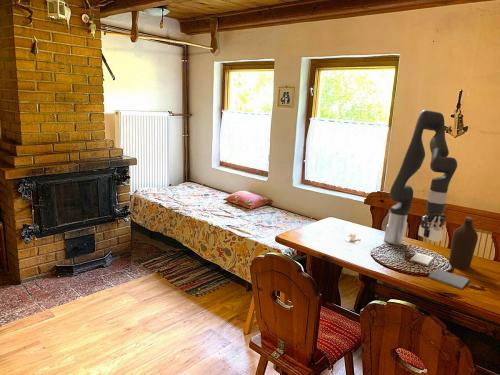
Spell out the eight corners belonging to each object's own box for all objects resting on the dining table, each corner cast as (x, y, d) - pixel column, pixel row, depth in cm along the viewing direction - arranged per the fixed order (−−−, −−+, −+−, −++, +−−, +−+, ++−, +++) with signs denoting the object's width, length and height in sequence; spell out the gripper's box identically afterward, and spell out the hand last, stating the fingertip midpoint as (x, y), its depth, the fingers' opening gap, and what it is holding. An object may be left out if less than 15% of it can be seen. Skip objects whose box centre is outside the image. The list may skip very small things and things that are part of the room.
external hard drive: (409, 262, 187) (416, 255, 196) (427, 267, 182) (433, 260, 191) (410, 259, 186) (417, 252, 196) (427, 264, 181) (434, 257, 191)
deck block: (418, 234, 174) (419, 224, 173) (424, 234, 176) (426, 223, 175) (434, 241, 166) (437, 230, 165) (441, 240, 168) (443, 230, 167)
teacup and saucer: (359, 239, 213) (360, 232, 212) (362, 244, 205) (363, 237, 204) (343, 237, 213) (344, 231, 212) (346, 242, 206) (347, 236, 205)
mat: (428, 277, 169) (428, 275, 169) (436, 270, 178) (436, 268, 178) (461, 289, 160) (462, 287, 160) (468, 280, 169) (469, 279, 169)
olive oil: (461, 271, 179) (472, 222, 173) (442, 262, 188) (452, 215, 182) (475, 268, 183) (487, 220, 177) (456, 259, 193) (466, 213, 187)
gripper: (440, 198, 174) (433, 232, 177) (418, 199, 167) (412, 235, 171) (454, 202, 167) (447, 238, 171) (432, 203, 161) (425, 241, 165)
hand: (429, 236), depth 171 cm, fingers closed on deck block, 4 cm apart
